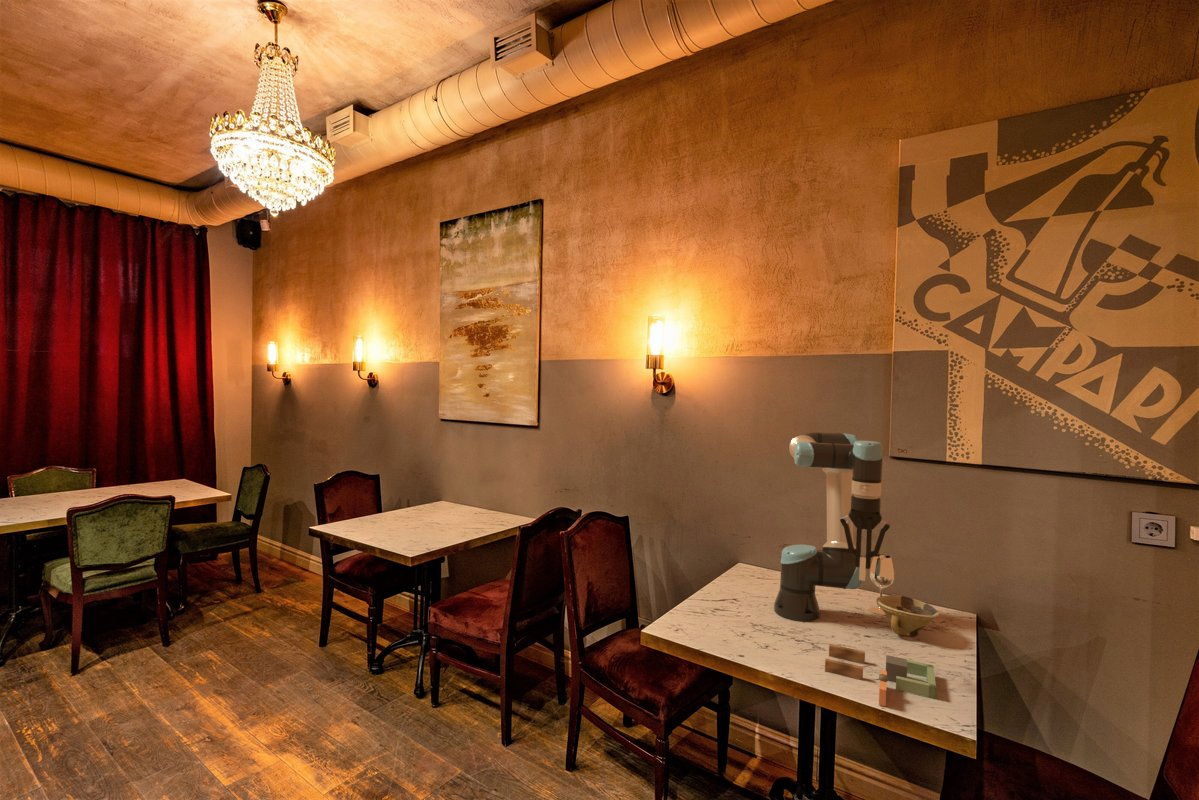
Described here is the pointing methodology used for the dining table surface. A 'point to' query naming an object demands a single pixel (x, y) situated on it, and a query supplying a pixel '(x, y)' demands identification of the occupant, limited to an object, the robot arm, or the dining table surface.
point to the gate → (882, 687)
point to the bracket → (918, 686)
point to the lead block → (895, 667)
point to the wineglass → (881, 576)
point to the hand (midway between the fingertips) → (862, 579)
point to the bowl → (906, 614)
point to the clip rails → (843, 667)
